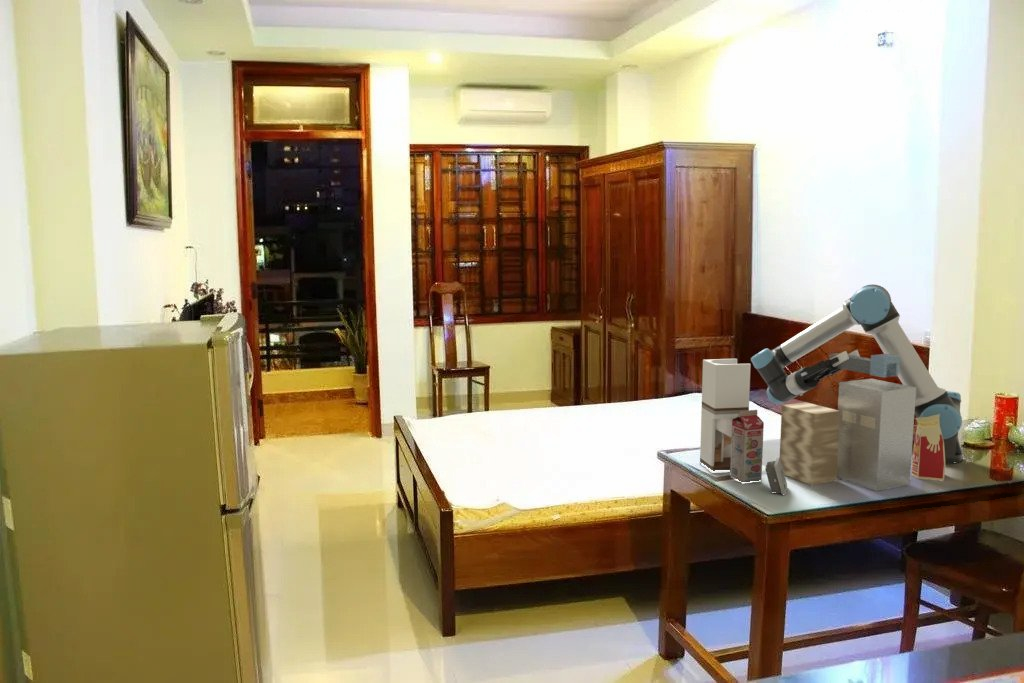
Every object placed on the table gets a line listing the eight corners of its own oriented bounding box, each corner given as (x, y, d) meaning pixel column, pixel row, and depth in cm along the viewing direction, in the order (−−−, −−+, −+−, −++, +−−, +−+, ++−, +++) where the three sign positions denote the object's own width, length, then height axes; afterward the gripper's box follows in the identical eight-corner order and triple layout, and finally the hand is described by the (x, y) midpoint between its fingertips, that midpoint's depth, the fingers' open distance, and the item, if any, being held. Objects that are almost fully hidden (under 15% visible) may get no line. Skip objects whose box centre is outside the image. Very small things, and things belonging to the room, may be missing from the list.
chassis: (833, 476, 252) (838, 382, 248) (866, 470, 257) (872, 378, 253) (875, 491, 237) (881, 391, 233) (909, 484, 243) (916, 387, 239)
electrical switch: (785, 496, 233) (783, 465, 232) (766, 496, 235) (764, 465, 234) (787, 487, 242) (785, 457, 241) (769, 486, 244) (767, 456, 243)
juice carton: (730, 478, 250) (732, 409, 247) (748, 475, 253) (750, 407, 250) (743, 484, 244) (745, 413, 241) (761, 481, 246) (764, 411, 243)
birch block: (778, 472, 256) (781, 405, 253) (802, 468, 260) (805, 402, 257) (811, 485, 243) (815, 414, 240) (836, 480, 247) (840, 410, 244)
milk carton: (939, 472, 255) (943, 411, 252) (945, 481, 246) (950, 417, 243) (907, 470, 258) (911, 409, 255) (912, 478, 249) (917, 415, 246)
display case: (712, 473, 255) (716, 365, 250) (699, 463, 266) (702, 359, 261) (746, 471, 257) (750, 363, 252) (732, 462, 267) (736, 358, 262)
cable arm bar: (826, 366, 257) (827, 348, 256) (840, 365, 259) (841, 346, 259) (883, 377, 237) (884, 357, 236) (898, 375, 240) (899, 356, 239)
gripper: (825, 388, 273) (876, 363, 253) (787, 393, 266) (836, 367, 246) (818, 368, 276) (868, 341, 256) (779, 372, 269) (827, 345, 249)
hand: (852, 354), depth 251 cm, fingers closed on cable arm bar, 4 cm apart
